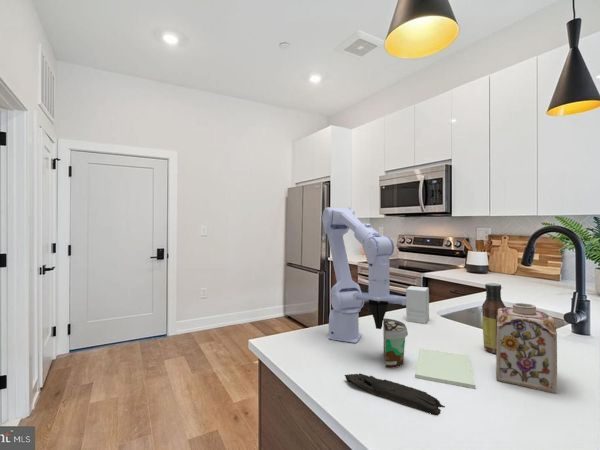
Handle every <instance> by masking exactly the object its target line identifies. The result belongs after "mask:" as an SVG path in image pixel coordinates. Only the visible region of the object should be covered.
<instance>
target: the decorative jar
mask: <svg viewBox="0 0 600 450" xmlns="http://www.w3.org/2000/svg"><path fill="white" fill-rule="evenodd" d="M496 320H497V324H496V325H497V334H496V335H497V339H496V354H495V355H496V361H495V362H496V367H495V368H496V369H495V378H496V380H497V381H498V382H504V383H507V384H511V385H512V384H513V385H517V386H521V387H525V388H529V389H534V390H539V391H542V392H543V391H544V392H547V393H553V394H557V392H558V391H557V389H558V333H557V327H556V326H555V324H556V323H555V319H554V317H553V316H552V315H551V314H549V313H546V312H544V311H541V310H537V307H536V305H535V304H531V303H527V302H526V303H523V302H514V303H512V307H506V308H500V309H498V310H497V319H496Z"/></svg>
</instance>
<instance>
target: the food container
mask: <svg viewBox="0 0 600 450" xmlns="http://www.w3.org/2000/svg"><path fill="white" fill-rule="evenodd" d="M382 328H383V333H382V334H383V359H384V365H385V368H387V369H388V368H389V369H390V368H392V369H393V367H394V368H398V366H399V367H401V366H402V365H403V364H404V361H405V359H404V358H405V345H406V337H407V336H408V329H407V328H408V327H407V326H406V324H405V323H404V322H402V321H399V320H397V319H392V318H386V317H384V319H383V323H382ZM400 365H401V366H400Z"/></svg>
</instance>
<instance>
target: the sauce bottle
mask: <svg viewBox="0 0 600 450" xmlns="http://www.w3.org/2000/svg"><path fill="white" fill-rule="evenodd" d="M484 285H485V286H484V287H485V291H486V292H485V293H486V294H485V295H486V296H485V300H484V302H483V303H482V334H483V335H482V336H483V348H484V350H485V351H487V352H489V353H491V354H495V355H496V339H497V335H496V334H497V325H496V324H497V320H496V319H497V310H498V309H500V308H507V307H506V305H505V304H504V302H503V300H502V293H501V290H502V285H501V284H500V283H493V282H492V283H491V282H489V283H488V282H487V283H484Z"/></svg>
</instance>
